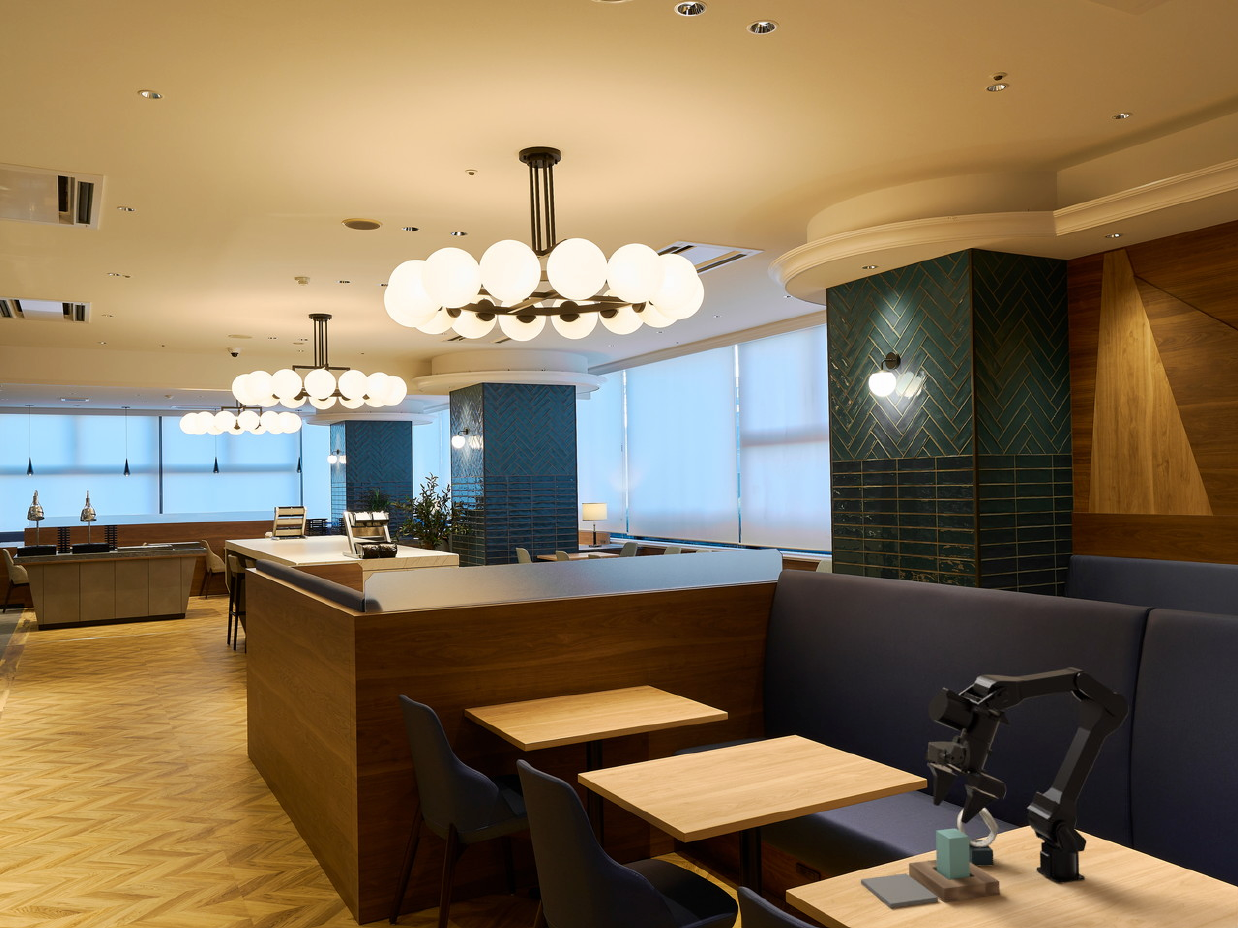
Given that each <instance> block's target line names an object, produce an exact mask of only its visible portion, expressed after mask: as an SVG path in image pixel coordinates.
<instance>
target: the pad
mask: <svg viewBox="0 0 1238 928" xmlns="http://www.w3.org/2000/svg"><path fill="white" fill-rule="evenodd" d="M860 884H861V885H862V886H864V888H866V889H867V890H868V891H869V892H871V893H872V894H873V895H874V896H875V897H876V898H878V899H879V900H880V901H881V902H882V903H883V904H885V906H888V907H889V908H890V909H892V908H900V907H909V906H915V905H922V904H929V903H936V902H939V898H938V897H937V896H936V895H934V894H933V893H932V892H930V891H929V890H928V889H926V888H925V887H924V886H922V885H921V884H920V883H918V882H917V881H916V880H914V879H913V878H912V877H910V876H909V873H898V874H891V875H890V874H889V875H883V876H876V877H867V878H860Z"/></svg>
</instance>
